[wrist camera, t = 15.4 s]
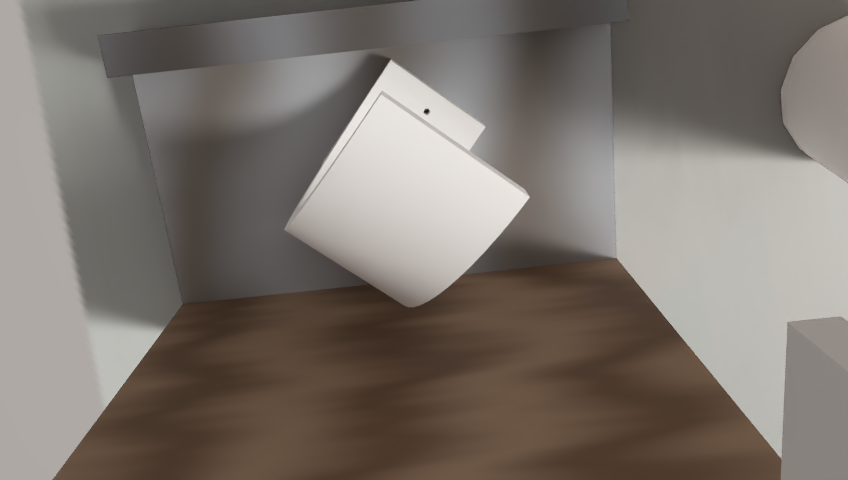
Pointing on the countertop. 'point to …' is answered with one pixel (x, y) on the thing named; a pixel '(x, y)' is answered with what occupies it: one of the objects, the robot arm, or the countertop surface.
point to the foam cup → (820, 97)
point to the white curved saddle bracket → (406, 192)
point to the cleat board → (376, 311)
